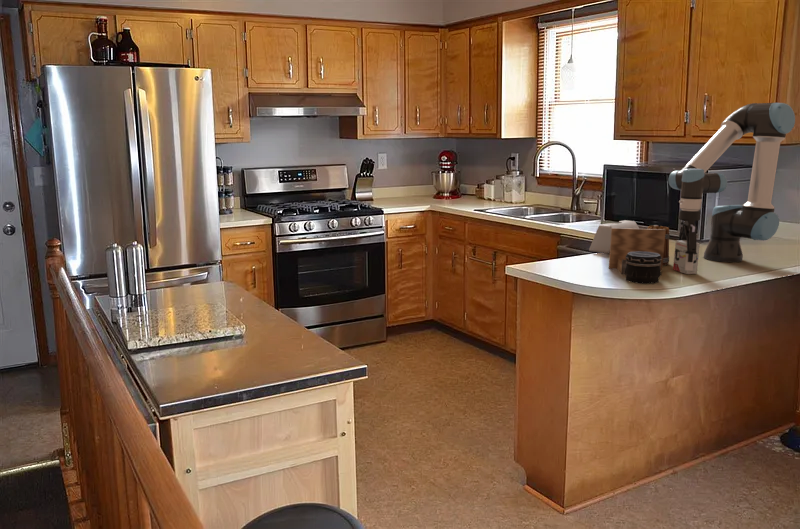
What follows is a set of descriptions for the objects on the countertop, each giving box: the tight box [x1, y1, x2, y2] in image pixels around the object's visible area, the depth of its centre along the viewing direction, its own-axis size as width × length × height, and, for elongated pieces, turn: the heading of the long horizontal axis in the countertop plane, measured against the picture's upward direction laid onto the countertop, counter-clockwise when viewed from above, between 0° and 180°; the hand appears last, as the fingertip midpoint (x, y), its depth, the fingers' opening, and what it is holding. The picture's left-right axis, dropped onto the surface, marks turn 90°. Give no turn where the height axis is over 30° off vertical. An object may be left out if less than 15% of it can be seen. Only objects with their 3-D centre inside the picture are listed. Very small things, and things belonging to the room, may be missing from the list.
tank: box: [588, 219, 640, 255], centre depth 321 cm, size 25×16×12 cm, turn 135°
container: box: [624, 251, 662, 285], centre depth 259 cm, size 13×13×10 cm
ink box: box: [672, 239, 701, 275], centre depth 275 cm, size 9×5×12 cm, turn 16°
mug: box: [646, 224, 671, 267], centre depth 294 cm, size 16×11×15 cm
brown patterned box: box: [608, 228, 666, 275], centre depth 274 cm, size 20×11×16 cm, turn 83°
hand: (685, 267), depth 275 cm, fingers closed on ink box, 9 cm apart
